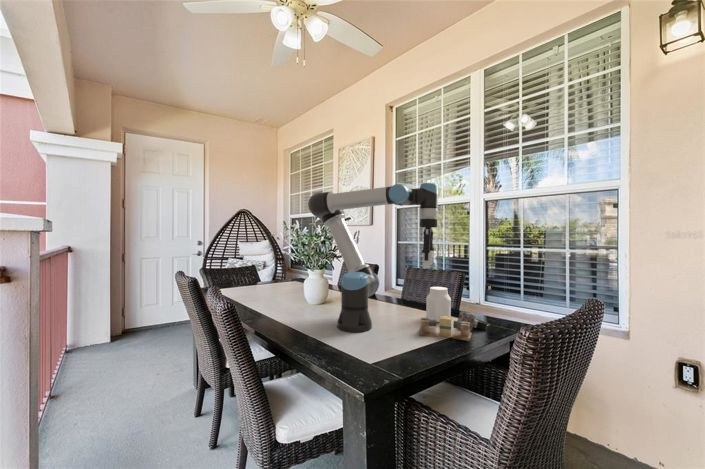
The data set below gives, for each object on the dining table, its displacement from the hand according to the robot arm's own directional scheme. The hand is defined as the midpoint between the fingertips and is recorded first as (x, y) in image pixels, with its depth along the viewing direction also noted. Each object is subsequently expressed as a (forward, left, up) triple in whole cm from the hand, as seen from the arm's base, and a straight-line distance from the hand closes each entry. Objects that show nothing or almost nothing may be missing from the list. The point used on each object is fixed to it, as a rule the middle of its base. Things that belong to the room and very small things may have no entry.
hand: (427, 266), depth 145 cm
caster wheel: (+19, +5, -27) cm, 34 cm away
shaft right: (+14, -9, -27) cm, 32 cm away
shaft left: (+2, -9, -27) cm, 28 cm away
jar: (+4, +14, -27) cm, 31 cm away
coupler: (+8, -9, -27) cm, 29 cm away
